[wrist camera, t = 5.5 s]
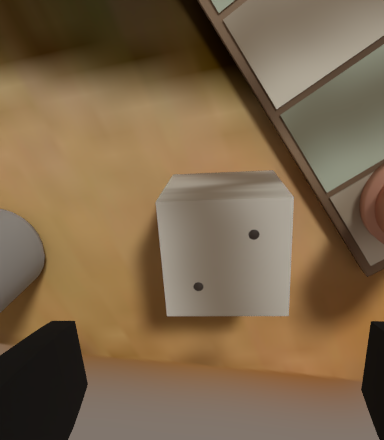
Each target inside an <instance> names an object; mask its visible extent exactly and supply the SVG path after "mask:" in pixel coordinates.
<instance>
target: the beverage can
mask: <svg viewBox="0 0 384 440" xmlns="http://www.w3.org/2000/svg"><path fill="white" fill-rule="evenodd" d="M44 259H45V254H44V250H43V244H42V241H41V239H40V237H39V234H38V233H37V232H36V230H35V229H34V227H33V226H32V225H31V224H29V223H28V222H27V221H26V220H25V219H24V218H22V217H20V216H18V215H17V214H15V213H13V212H10V211H7V210H3V209H0V312H2V311H3V310H4V309H5V308H6V307H7V306H8V305H9V304H10V303H11V302H12V301H13V300H14V299H15V298H16V297H17V296H18V295H19V294H20V293H21V292H22V291H24V290H25V289H26V288H27V287H28V286H29V285H30V284H31V283H32V282H33V281H34V280H35V279H36V278H37V277H38V276H39V275H40V273H41V271H42V269H43V267H44Z"/></svg>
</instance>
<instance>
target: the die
mask: <svg viewBox="0 0 384 440" xmlns="http://www.w3.org/2000/svg"><path fill="white" fill-rule="evenodd" d="M293 205H294V197H293V195H292V194H291V193H290V192H289V190H288V189H287V188H286V186H285V185H284V184H283V183H282V181H281V180H280V179H279V177H278V176H277V175H276V173H275V172H274V171H273V170H269V171H246V172H222V173H198V174H175V175H173V176H172V177H171V179H170V180H169V182H168V183H167V185H166V187H165V188H164V190H163V191H162V193H161V194H160V196H159V198H158V199H157V201H156V211H157V221H158V231H159V241H160V251H161V261H162V271H163V281H164V291H165V301H166V312H167V316H289V297H290V274H291V251H292V228H293Z"/></svg>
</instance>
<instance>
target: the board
mask: <svg viewBox="0 0 384 440" xmlns="http://www.w3.org/2000/svg"><path fill="white" fill-rule="evenodd" d="M197 1H198V3H199V4H200V6H201V8H202V9H203V11H204V13H205V14H206V16H207V17H208V19H209V21H210V22H211V24H212V26H213V27H214V29H215V31H216V32H217V34H218V36H219V37H220V39H221V40H222V42H223V44H224V45H225V47H226V49H227V50H228V52H229V54H230V55H231V57H232V58H233V60H234V62H235V63H236V65H237V67H238V68H239V70H240V72H241V73H242V75H243V76H244V78H245V80H246V81H247V83H248V85H249V86H250V88H251V90H252V91H253V93H254V94H255V96H256V98H257V99H258V101H259V103H260V104H261V106H262V108H263V109H264V111H265V112H266V114H267V116H268V117H269V119H270V121H271V122H272V124H273V126H274V127H275V129H276V130H277V132H278V134H279V135H280V137H281V139H282V140H283V142H284V144H285V145H286V147H287V149H288V150H289V152H290V153H291V155H292V157H293V158H294V160H295V162H296V163H297V165H298V167H299V168H300V170H301V171H302V173H303V175H304V176H305V178H306V180H307V181H308V183H309V185H310V186H311V188H312V189H313V191H314V193H315V194H316V196H317V198H318V199H319V201H320V203H321V204H322V206H323V207H324V209H325V211H326V212H327V214H328V216H329V217H330V219H331V221H332V222H333V224H334V225H335V227H336V229H337V230H338V232H339V234H340V235H341V237H342V239H343V240H344V242H345V243H346V245H347V247H348V248H349V250H350V252H351V253H352V255H353V257H354V258H355V260H356V262H357V263H358V265H359V266H360V268H361V270H362V271H363V272H364V273H365V275H366V276H367V277H368V276H370V275H372V274H374V273H376V272H378V271H380V270H382V269H384V244H383V243H381V242H380V241H379V240H377V239H376V238H375V237H374V236H373V235H372V234H371V233H370V232H369V231H368V230H367V229H366V227H365V226H364V224H363V222H362V219H361V216H360V208H359V205H360V197H361V193H362V190H363V188H364V186H365V184H366V182H367V180H368V179H369V177H370V176H371V175H372V174H373V173H374V171H375V170H376V169H377V168H379V167H380V166H381V165H382V164H384V0H197Z"/></svg>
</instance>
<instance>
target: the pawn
mask: <svg viewBox="0 0 384 440" xmlns="http://www.w3.org/2000/svg"><path fill="white" fill-rule="evenodd" d="M359 208H360V216H361V219H362V222H363V224H364V226H365V227H366V229H367V230H368V231H369V232H370V233H371V234H372V235H373V236H374V237H375V238H376V239H377V240H379V241H380V242H381V243H383V244H384V164H382V165H381V166H380V167H379V168H377V169H376V170H375V171H374V173H373V174H372V175H371V176H370V177H369V179H368V180H367V182H366V184H365V186H364V188H363V190H362V193H361V197H360V205H359Z"/></svg>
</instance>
